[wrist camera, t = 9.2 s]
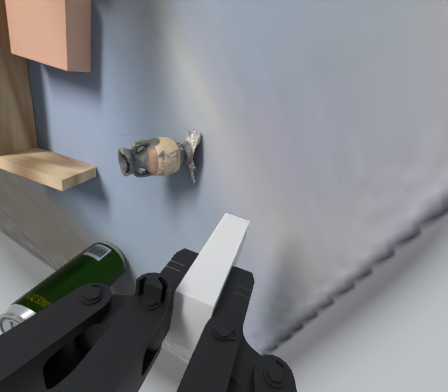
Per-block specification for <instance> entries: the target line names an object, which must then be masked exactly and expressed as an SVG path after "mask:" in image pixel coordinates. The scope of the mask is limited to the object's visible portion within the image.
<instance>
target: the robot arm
mask: <svg viewBox="0 0 448 392" xmlns="http://www.w3.org/2000/svg"><path fill="white" fill-rule="evenodd" d="M249 223H250V221H248V220H245V219H242V218H239V217H236V216H233V215H230V214H227V213H225V215H224V216H223V218H222V219H221V221H220V222H219V224H218V225H217V227H216V228H215V230H214V232H213V233H212V235H211V236H210V238H209V239H208V241H207V242H206V244H205V245H204V247H203V249H202V250H201V252H200V253H199V254H198V253H196V252H193V251H190V250H188V249H185V248H184V249H182V250H181V251H179V252H177V253H176V254H175V255H174V256H173V258H172V259H171V261H169V263H168V264H167V265H166V266H165V268H164V269H163V270H162V271H161V273H160V274H159V273H147V274H144V275H141V276H140V277H139V278H138V279H137V280H136V292H135V295H132V296H125V295H115V294H111V289H110V288H109V287H108V286H107V285H105V284H103V283H89V284H86V285H83V286H81V287H79V288H77V289H76V290H74V291H73V292H71V293H69V294H68V295H66V296H64V297H63V298H61V299H59V300H58V301H56V302H54V303H53V304H51V305H49V306H48V307H46V308H44V309H43V310H41V311H39V312H38V313H36V314H35V315H33V316H31V317H30V318H28V319H26V320H25V321H23V322H21V323H20V324H18V325H16V326H15V327H13V328H11V329H10V330H8V331H6V332H5V333H3V334H1V335H0V392H138V391H139V389H140V387H141V385H142V384H143V382H144V380H145V378H146V376H147V374H148V373H149V371H150V369H151V367H152V365H153V364H154V362H155V360H156V358H157V356H158V354H159V353H160V350H161V346H162V342H163V340H164V338H165V336H166V335H167V340H169V341H172V342H174V343H176V344H178V345H181V346H183V347H185V348H187V349H190V350H192V351H194V352H193V354H192V357H191V359H190V361H189V364H188V366H187V368H186V371H185V373H184V375H183V378H182V380H181V383H180V385H179V387H178V389H177V392H297V390H296V385H295V379H294V376H293V373H292V370H291V369H290V368H289V366H288V365H287V363H285V362H284V361H283V360H282V359H280V358H279V357H276V356H274V355H264V356H261V355H260V354H258V353H257V352H256V351H255V350H254V349H253V348H252V347H251V346H250V345H249V344H248V343H247V341H246V340H245V337H244V335H243V323H244V319H245V316H246V312H247V308H248V304H249V301H250V297H251V293H252V289H253V286H254V278H253V274H252V273H251V272H248V271H246V270H243V269H240V268H238V267H235V266H236V264H237V261H238V259H239V256H240V252H241V249H242V246H243V242H244V239H245V236H246V233H247V229H248V226H249ZM167 333H168V334H167Z"/></svg>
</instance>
